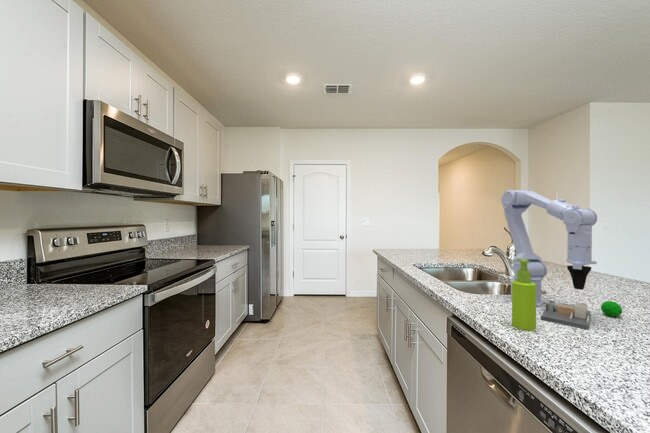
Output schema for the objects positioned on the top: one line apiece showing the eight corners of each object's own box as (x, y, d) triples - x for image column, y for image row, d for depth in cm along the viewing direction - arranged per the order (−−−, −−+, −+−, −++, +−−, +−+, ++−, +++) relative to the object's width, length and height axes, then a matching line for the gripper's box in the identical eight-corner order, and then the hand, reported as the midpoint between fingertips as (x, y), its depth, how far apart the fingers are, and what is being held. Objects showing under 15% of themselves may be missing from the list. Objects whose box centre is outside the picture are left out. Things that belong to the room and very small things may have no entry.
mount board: (540, 319, 89) (540, 307, 89) (548, 306, 102) (548, 296, 102) (588, 329, 81) (588, 316, 81) (590, 314, 94) (590, 303, 94)
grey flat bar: (550, 306, 94) (550, 304, 94) (551, 304, 96) (551, 302, 96) (587, 313, 88) (587, 311, 88) (587, 311, 90) (587, 308, 90)
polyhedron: (597, 314, 94) (597, 300, 94) (605, 312, 96) (605, 298, 96) (617, 319, 89) (618, 304, 89) (625, 317, 91) (625, 303, 91)
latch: (574, 317, 88) (574, 306, 88) (575, 312, 92) (575, 302, 92) (585, 319, 86) (585, 307, 86) (586, 314, 90) (586, 304, 90)
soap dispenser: (530, 323, 86) (530, 258, 86) (539, 331, 80) (539, 261, 80) (508, 320, 88) (508, 257, 88) (515, 329, 82) (515, 260, 82)
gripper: (595, 249, 81) (595, 296, 81) (597, 245, 91) (597, 287, 92) (564, 247, 86) (563, 291, 86) (569, 244, 96) (568, 283, 97)
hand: (578, 288), depth 89 cm, fingers closed
